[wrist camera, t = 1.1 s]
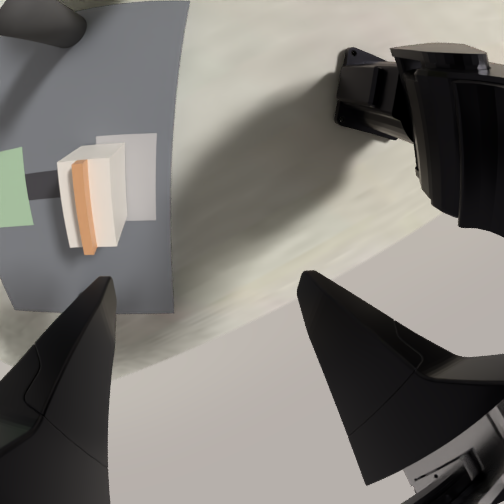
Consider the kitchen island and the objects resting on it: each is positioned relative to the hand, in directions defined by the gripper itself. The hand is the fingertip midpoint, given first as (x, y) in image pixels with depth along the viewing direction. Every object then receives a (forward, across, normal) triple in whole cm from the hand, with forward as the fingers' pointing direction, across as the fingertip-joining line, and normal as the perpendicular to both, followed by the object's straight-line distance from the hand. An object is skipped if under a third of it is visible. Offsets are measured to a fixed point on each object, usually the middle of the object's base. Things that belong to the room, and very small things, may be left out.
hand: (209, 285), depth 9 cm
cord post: (+11, +9, -10) cm, 17 cm away
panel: (+12, +10, 0) cm, 16 cm away
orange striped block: (+11, +6, 0) cm, 12 cm away
